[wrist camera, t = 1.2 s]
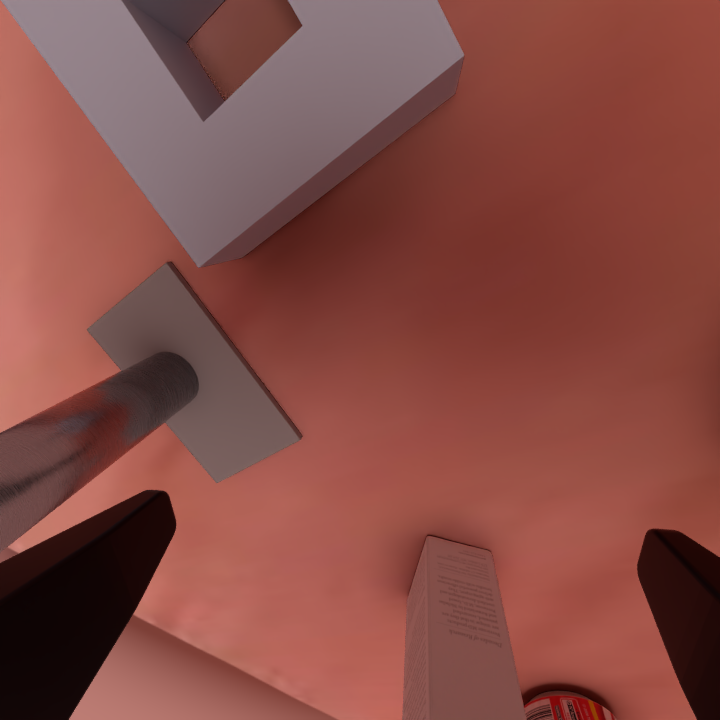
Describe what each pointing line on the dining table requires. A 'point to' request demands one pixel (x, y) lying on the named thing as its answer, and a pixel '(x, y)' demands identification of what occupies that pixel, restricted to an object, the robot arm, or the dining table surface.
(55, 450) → the pin
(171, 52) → the block
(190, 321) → the base plate
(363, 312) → the dining table surface
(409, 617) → the skincare box
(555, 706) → the soda can
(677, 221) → the dining table surface
